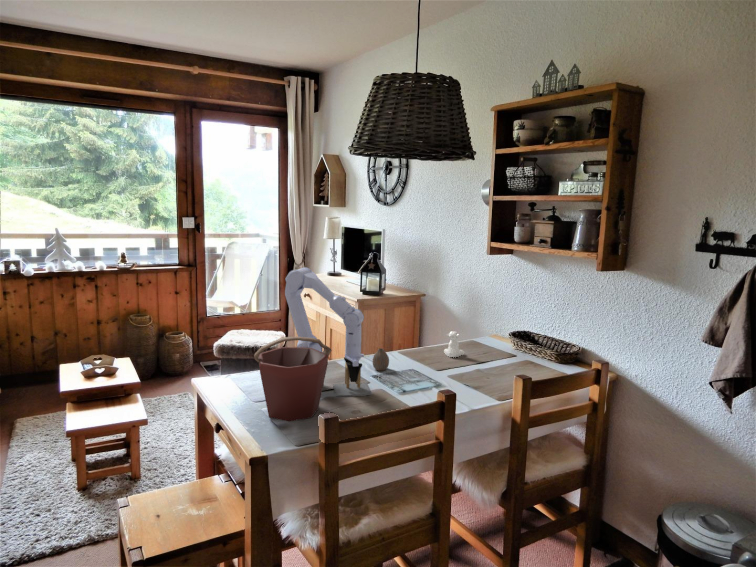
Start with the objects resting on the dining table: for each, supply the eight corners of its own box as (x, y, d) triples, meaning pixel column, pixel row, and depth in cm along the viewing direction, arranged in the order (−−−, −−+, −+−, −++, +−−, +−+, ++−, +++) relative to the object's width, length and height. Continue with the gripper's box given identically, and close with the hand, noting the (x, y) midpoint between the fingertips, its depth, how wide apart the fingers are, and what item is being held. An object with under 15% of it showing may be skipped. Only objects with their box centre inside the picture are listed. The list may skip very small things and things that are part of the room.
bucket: (331, 398, 180) (333, 329, 176) (327, 426, 158) (329, 348, 154) (261, 397, 179) (261, 328, 175) (248, 425, 157) (247, 346, 153)
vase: (387, 373, 208) (387, 352, 207) (370, 371, 209) (371, 350, 208) (390, 367, 215) (390, 347, 213) (374, 366, 216) (374, 346, 215)
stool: (346, 388, 185) (347, 366, 184) (344, 383, 190) (345, 362, 188) (360, 387, 186) (360, 366, 184) (358, 383, 190) (358, 362, 189)
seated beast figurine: (464, 354, 237) (466, 329, 235) (463, 359, 228) (464, 333, 227) (444, 352, 239) (445, 327, 237) (442, 357, 231) (443, 332, 229)
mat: (336, 396, 181) (336, 395, 181) (333, 385, 192) (333, 384, 192) (372, 395, 184) (372, 393, 184) (367, 384, 194) (367, 382, 194)
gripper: (367, 348, 179) (366, 385, 181) (361, 337, 193) (360, 372, 195) (347, 349, 177) (346, 386, 180) (342, 338, 191) (341, 372, 194)
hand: (352, 379), depth 187 cm, fingers closed on stool, 5 cm apart
